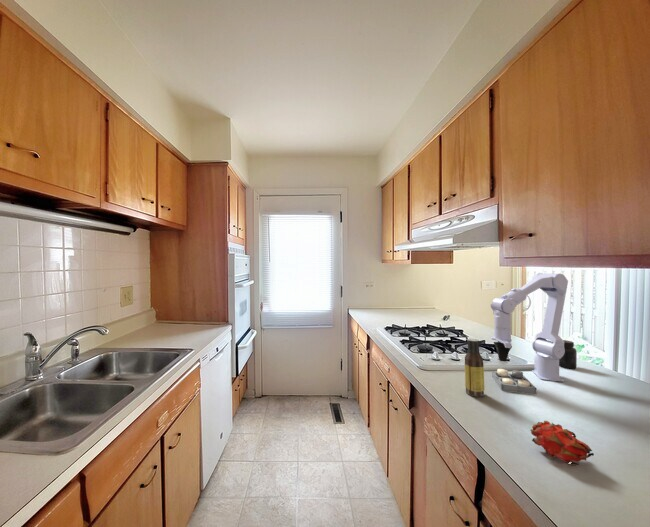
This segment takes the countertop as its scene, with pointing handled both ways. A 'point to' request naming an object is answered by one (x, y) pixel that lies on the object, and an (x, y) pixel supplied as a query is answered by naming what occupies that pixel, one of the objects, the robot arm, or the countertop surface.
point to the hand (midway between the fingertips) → (502, 360)
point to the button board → (514, 384)
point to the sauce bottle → (474, 369)
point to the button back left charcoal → (517, 374)
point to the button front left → (523, 383)
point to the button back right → (502, 372)
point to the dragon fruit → (560, 442)
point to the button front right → (507, 381)
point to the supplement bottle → (569, 356)
